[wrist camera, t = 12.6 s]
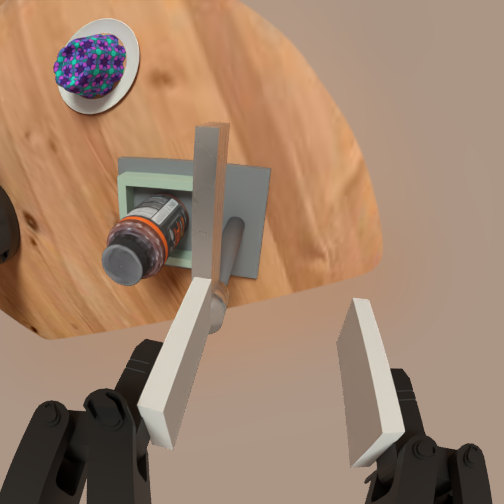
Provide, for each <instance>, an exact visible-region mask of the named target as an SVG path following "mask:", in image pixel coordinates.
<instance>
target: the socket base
mask: <svg viewBox="0 0 504 504" xmlns="http://www.w3.org/2000/svg"><path fill="white" fill-rule="evenodd" d="M193 165H194V160H181V159H165V158H145V157H121V158H118V174H119V176H117V180H118V198H119V212H120V220H121V219H122V218H123V217H125V216H126V215H127V214H128V213H129V212H131V211H132V210H133V209H134V208H135V207H137V206H138V205H139V204H140V203H141V202H143V201H144V200H145V199H146V198H148V197H149V196H151V195H153V194H156V193H167V194H171V195H173V196H175V197H177V198H178V199H179V200H180V201H181V202H182V203H183V204H184V205H185V208H186V210H187V213H188V218H189V222H188V227H187V230H186V232H185V234H184V235H183V237H182V238H181V240H180V241H179V243H178V244H177V246H176V247H175V249H174V250H173V252H172V253H171V255H170V256H169V258H168V259H167V261H166V262H165V264H164V265H166V266H173V267H179V268H186V269H192V192H193ZM270 171H271V168H265V167H257V166H248V165H239V164H229V163H227V166H226V179H225V193H224V208H223V223H222V240H221V258H220V277H219V280H221V281H222V282H223V283H224V284H225V285H226V286H227V284H228V281H229V277H230V275H233V276H241V277H248V278H255V279H257V275H258V267H259V260H260V252H261V244H262V236H263V228H264V220H265V212H266V204H267V196H268V188H269V179H270Z"/></svg>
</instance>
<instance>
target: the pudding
mask: <svg viewBox="0 0 504 504" xmlns="http://www.w3.org/2000/svg"><path fill="white" fill-rule="evenodd" d="M99 33H111V34H113V35H104V36H102V35H101V34H99ZM96 34H98V35H96ZM114 35H115V36H117V37H118V38H119V39H120V40H121V41H122V42H123V44H124V46H125V49H126V51H125V49H124V47H123V46H120V45H118V39H117V38H116V37H115V36H114ZM126 53H127V64H126V69H125V72H124V75H123V71H124V67H123V64H122V63H123V61H124V59H125V57H126ZM138 64H139V45H138V42H137V39H136V36H135V34H134V33H133V31H132V30H131V29H130V27H129V26H128V25H126V24H125V23H123V22H122V21H119V20H116V19H110V18H106V19H99V20H96V21H93V22H91V23H89V24H87V25H85V26H84V27H82V28H81V29H79V30H78V31H77V32H76V33H75V34H74V35H73V36H72V38H71V39H70V40H69V41H68V43H67V45H66V46H65V47H63V48H62V49H61V50H60V52H59V54H58V57H57V61H56V62H55V64H54V73H55V74H56V77H55V80H56V83H57V84H58V87H59V91H60V94H61V96H62V98H63V100H64V101H65V102H66V104H67V105H68V106H69V107H71V108H72V109H73V110H75V111H77V112H80V113H83V114H96V113H100V112H103V111H105V110H107V109H109V108H111V107H112V106H113V105H115V104H116V103H117V102H119V100H120V99H121V98H122V97H123V96H124V95H125V94H126V92H127V91H128V89H129V88H130V86H131V84H132V82H133V81H134V78H135V75H136V73H137V69H138ZM122 75H123V77H122ZM121 77H122V79H121V81H120V82H119V84H118V85H117V86H116V87H115V89H114V90H113V91H111V90H112V87H113V84H114V82H116V81H118V80H120V78H121ZM110 91H111V92H110ZM109 92H110V93H109ZM107 93H109V94H107ZM97 94H100V95H105V94H107V95H106V96H104V97H102V98H99V99H86V98H94V97H95V96H96V95H97ZM81 96H83V97H86V98H83V97H81Z"/></svg>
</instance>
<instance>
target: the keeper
mask: <svg viewBox="0 0 504 504" xmlns="http://www.w3.org/2000/svg"><path fill="white" fill-rule="evenodd" d="M229 129H230V123H220V122H208V123H204V124H201V125H198V126H196V128H195V145H194V165H193V192H192V280H193V278H194V277H199V278H206V279H212V283H211V324H210V330H209V333H208V334H213V333H215V332H217V331H218V330H219V329H220V328H221V326H222V322H223V318H224V315H225V311H226V307H227V304H228V300H229V290H228V288H227V286H226V285H225V284H224V283H223V282H222V281H221V280H219V277H220V258H221V240H222V223H223V208H224V193H225V179H226V166H227V153H228V141H229Z"/></svg>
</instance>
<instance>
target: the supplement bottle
mask: <svg viewBox="0 0 504 504" xmlns="http://www.w3.org/2000/svg"><path fill="white" fill-rule="evenodd" d="M188 222H189V218H188V213H187V210H186V208H185V205H184V204H183V203H182V202H181V201H180V200H179V199H178V198H177V197H175V196H173V195H171V194H167V193H156V194H153V195H151V196H149V197H148V198H146V199H145V200H144V201H143V202H141V203H140V204H139V205H138V206H137V207H135V208H134V209H133V210H132V211H131V212H129V213H128V214H127V215H126V216H125V217H123V218H122V219H121V220H120V221H119V222H118V223H117V224H116V225H115V226H114V227H113V228H112V229H111V231H110V233H109V235H108V238H107V248H106V249H105V250H104V252H103V255H102V265H103V268H104V270H105V272H106V274H107V275H108V276H109V277H110V278H111V279H112V280H113V281H115V282H116V283H118V284H121V285H124V286H131V285H135V284H137V283H138V282H139V281H140V280H141V279H146V278H149V277H152V276H154V275H155V274H156V273H158V272H159V271H160V269H161V268H162V267H163V265H164V264H165V262H166V261H167V259H168V258H169V256H170V255H171V253H172V252H173V250H174V249H175V247H176V246H177V244H178V243H179V241H180V240H181V238H182V237H183V235H184V234H185V232H186V230H187V227H188Z"/></svg>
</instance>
